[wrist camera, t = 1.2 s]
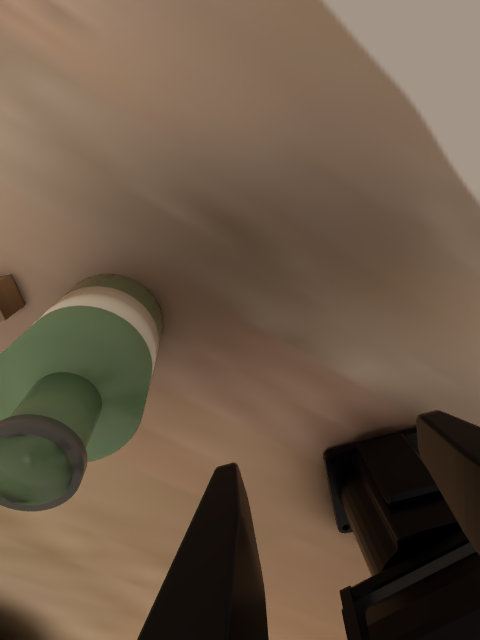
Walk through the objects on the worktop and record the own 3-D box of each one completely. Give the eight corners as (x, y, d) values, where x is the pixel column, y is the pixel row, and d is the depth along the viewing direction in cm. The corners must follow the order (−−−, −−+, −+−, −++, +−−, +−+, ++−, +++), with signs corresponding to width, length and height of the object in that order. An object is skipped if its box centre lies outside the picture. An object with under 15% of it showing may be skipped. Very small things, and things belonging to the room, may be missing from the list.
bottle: (175, 353, 20) (153, 516, 10) (83, 376, 20) (-22, 562, 10) (145, 262, 18) (84, 361, 9) (43, 288, 18) (-127, 416, 9)
